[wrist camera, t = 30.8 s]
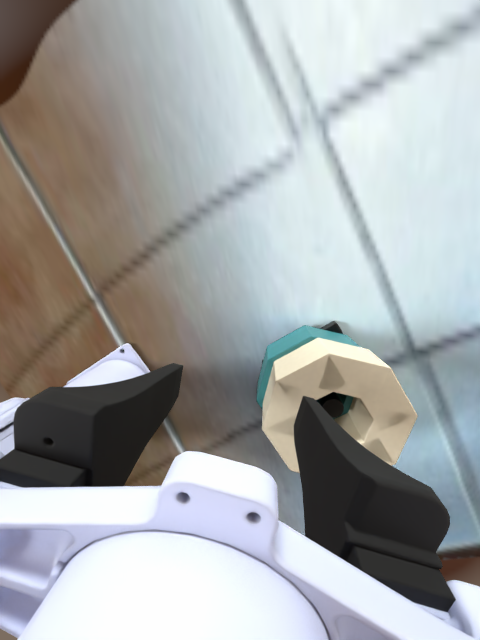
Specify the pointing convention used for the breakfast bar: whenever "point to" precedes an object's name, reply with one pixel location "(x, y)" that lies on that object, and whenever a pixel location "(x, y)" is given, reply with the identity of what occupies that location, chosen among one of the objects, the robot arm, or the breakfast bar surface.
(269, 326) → the breakfast bar surface
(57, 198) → the breakfast bar surface
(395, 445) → the cream ring
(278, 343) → the teal ring
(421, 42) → the breakfast bar surface
